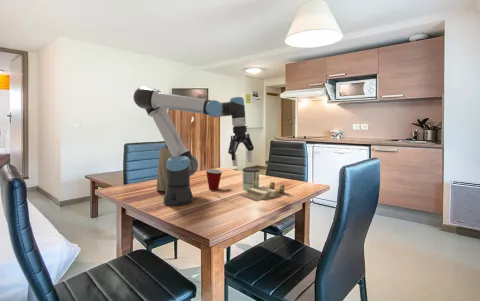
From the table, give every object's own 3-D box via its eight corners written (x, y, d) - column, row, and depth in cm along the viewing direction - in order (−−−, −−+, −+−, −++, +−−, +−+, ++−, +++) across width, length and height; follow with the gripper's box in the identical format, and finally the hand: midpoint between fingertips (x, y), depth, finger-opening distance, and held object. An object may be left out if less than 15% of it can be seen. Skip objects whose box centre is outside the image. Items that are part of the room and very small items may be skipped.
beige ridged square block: (261, 199, 144) (261, 193, 144) (247, 194, 154) (247, 189, 154) (277, 195, 152) (277, 190, 151) (262, 191, 161) (263, 186, 161)
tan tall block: (163, 191, 158) (167, 148, 158) (153, 188, 164) (156, 147, 164) (176, 190, 166) (180, 149, 166) (166, 187, 172) (169, 148, 172)
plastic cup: (221, 191, 166) (222, 171, 164) (204, 190, 166) (204, 171, 164) (223, 187, 176) (223, 168, 175) (206, 186, 177) (206, 168, 175)
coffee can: (242, 189, 171) (243, 167, 170) (259, 189, 170) (259, 167, 169) (241, 193, 161) (241, 170, 160) (258, 194, 160) (259, 170, 159)
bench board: (256, 204, 140) (256, 192, 139) (238, 197, 153) (238, 186, 152) (290, 196, 156) (291, 185, 155) (271, 190, 168) (271, 180, 168)
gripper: (230, 126, 137) (233, 168, 139) (257, 124, 156) (260, 160, 158) (219, 127, 141) (223, 167, 143) (247, 125, 161) (250, 160, 163)
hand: (242, 164), depth 151 cm, fingers open, 13 cm apart
